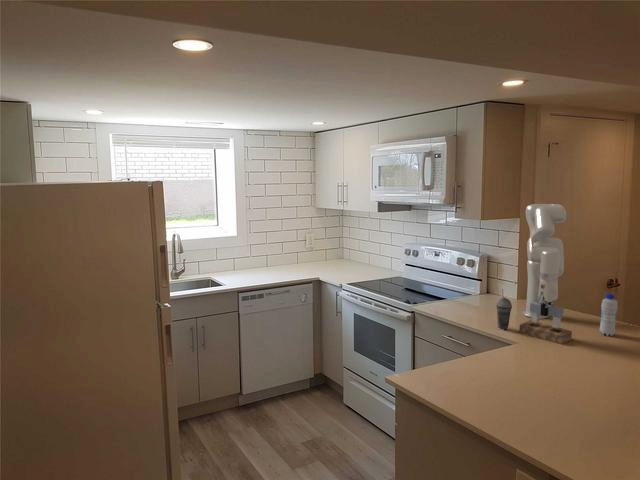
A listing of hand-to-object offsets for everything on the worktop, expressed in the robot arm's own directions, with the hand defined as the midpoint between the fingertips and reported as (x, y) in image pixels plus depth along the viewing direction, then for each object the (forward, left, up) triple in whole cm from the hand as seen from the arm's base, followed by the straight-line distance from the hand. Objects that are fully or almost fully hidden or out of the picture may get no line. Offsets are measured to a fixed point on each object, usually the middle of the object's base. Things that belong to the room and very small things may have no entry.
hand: (546, 314), depth 223 cm
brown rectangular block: (0, 0, -11) cm, 11 cm away
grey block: (0, 0, -5) cm, 5 cm away
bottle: (-24, +18, -11) cm, 32 cm away
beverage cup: (+6, -18, -11) cm, 22 cm away
